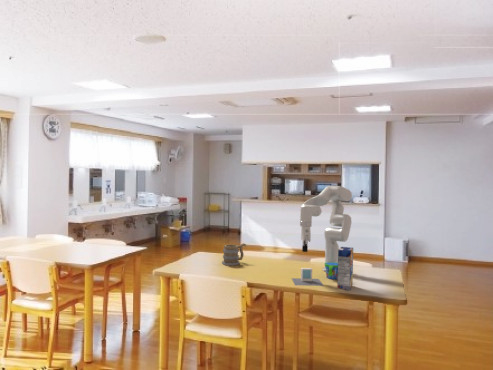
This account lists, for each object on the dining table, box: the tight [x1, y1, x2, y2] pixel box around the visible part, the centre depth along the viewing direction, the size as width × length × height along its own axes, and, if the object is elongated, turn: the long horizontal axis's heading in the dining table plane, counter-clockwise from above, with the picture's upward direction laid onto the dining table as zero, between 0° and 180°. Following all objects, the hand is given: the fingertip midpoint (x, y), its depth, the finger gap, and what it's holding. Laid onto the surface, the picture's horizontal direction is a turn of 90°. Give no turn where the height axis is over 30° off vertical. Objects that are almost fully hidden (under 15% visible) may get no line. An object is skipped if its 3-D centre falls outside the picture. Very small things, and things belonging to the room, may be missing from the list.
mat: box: [291, 277, 325, 287], centre depth 256 cm, size 18×17×1 cm
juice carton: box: [336, 246, 354, 291], centre depth 247 cm, size 12×8×24 cm, turn 158°
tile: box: [300, 267, 313, 281], centre depth 258 cm, size 7×2×8 cm, turn 91°
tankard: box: [221, 243, 247, 266], centre depth 310 cm, size 20×13×15 cm, turn 120°
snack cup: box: [324, 262, 338, 280], centre depth 268 cm, size 16×10×10 cm
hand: (304, 251), depth 265 cm, fingers closed
